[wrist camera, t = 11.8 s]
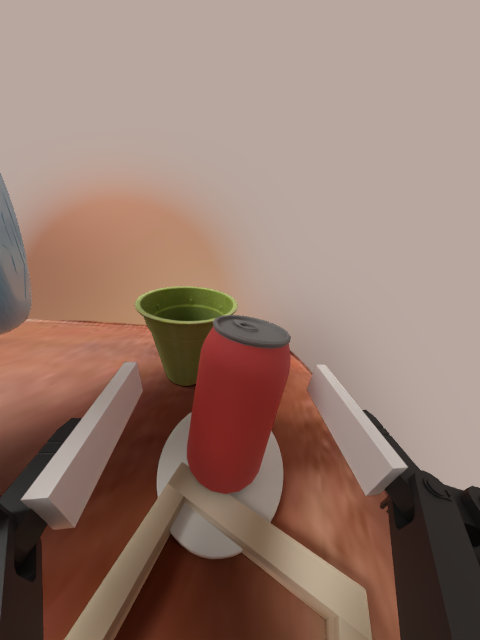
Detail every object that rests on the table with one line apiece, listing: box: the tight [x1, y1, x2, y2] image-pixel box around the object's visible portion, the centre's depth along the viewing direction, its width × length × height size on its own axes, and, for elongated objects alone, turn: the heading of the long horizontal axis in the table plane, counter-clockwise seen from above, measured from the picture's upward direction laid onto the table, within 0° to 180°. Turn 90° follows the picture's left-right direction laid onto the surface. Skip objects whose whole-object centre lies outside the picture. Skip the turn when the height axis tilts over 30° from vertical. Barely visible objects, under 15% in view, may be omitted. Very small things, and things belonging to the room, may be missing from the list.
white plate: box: [157, 412, 283, 559], centre depth 16 cm, size 11×11×1 cm
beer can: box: [187, 315, 291, 494], centre depth 14 cm, size 7×7×12 cm
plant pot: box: [135, 287, 237, 386], centre depth 23 cm, size 12×12×11 cm
